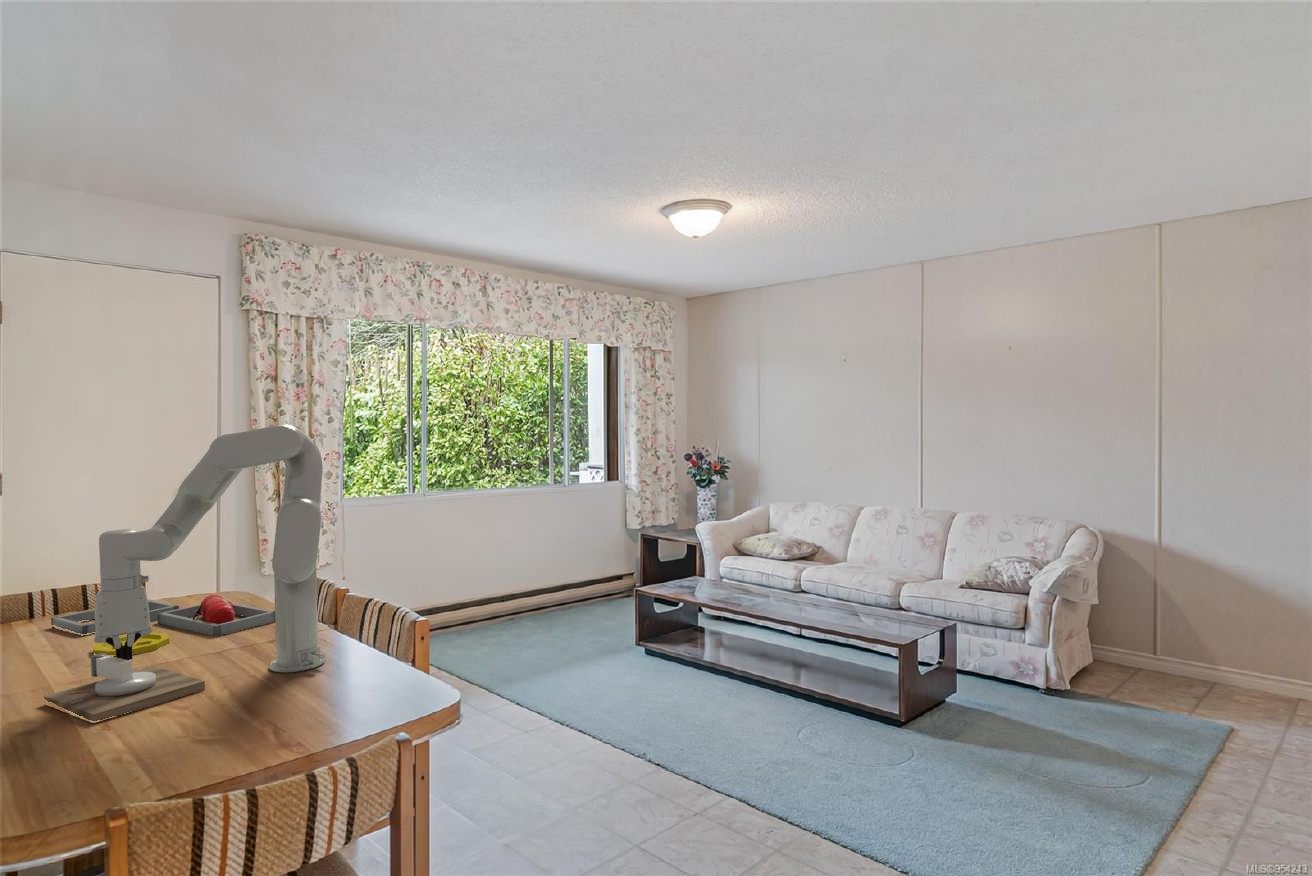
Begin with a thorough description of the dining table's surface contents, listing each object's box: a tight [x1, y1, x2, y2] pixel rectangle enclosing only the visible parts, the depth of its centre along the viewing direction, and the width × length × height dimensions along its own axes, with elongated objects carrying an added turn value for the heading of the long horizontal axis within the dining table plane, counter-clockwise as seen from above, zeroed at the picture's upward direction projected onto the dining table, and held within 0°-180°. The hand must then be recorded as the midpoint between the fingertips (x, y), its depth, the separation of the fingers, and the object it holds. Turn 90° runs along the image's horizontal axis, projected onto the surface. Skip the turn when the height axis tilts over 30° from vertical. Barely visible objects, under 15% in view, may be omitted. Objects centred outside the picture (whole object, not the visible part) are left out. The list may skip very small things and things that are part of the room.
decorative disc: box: [92, 631, 170, 655], centre depth 204 cm, size 17×18×2 cm
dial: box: [90, 653, 156, 696], centre depth 168 cm, size 18×11×6 cm, turn 63°
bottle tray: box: [157, 601, 275, 638], centre depth 229 cm, size 32×18×3 cm, turn 60°
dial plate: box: [43, 665, 206, 721], centre depth 166 cm, size 22×22×2 cm
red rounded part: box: [192, 594, 236, 624], centre depth 228 cm, size 12×8×25 cm
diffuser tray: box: [50, 598, 180, 634], centre depth 232 cm, size 20×26×3 cm
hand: (124, 663), depth 172 cm, fingers closed
